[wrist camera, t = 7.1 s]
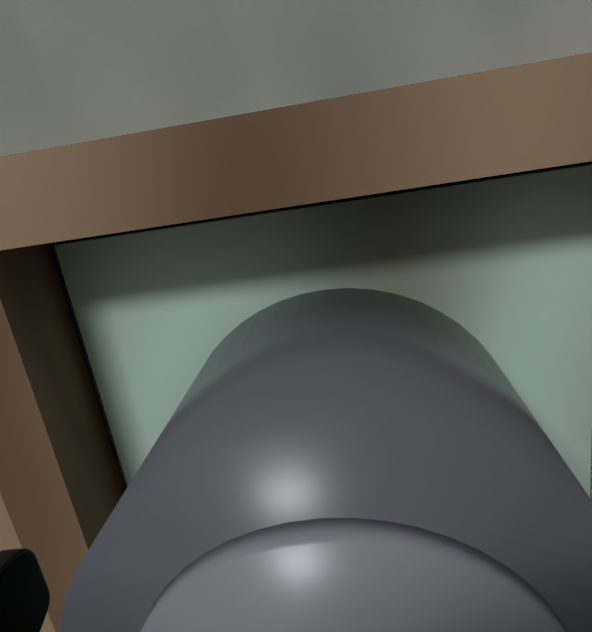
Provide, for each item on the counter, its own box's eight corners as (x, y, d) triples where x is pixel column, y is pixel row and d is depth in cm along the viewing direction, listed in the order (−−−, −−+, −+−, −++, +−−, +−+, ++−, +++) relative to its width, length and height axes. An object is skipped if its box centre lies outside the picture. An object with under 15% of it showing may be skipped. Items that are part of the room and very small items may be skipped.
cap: (513, 265, 8) (733, 423, 4) (521, 567, 10) (673, 926, 5) (152, 311, 9) (-48, 489, 4) (221, 583, 11) (132, 909, 6)
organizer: (701, 42, 7) (799, 15, 6) (653, 652, 11) (705, 737, 9) (-430, 239, 10) (-574, 258, 8) (-165, 680, 13) (-232, 751, 12)
